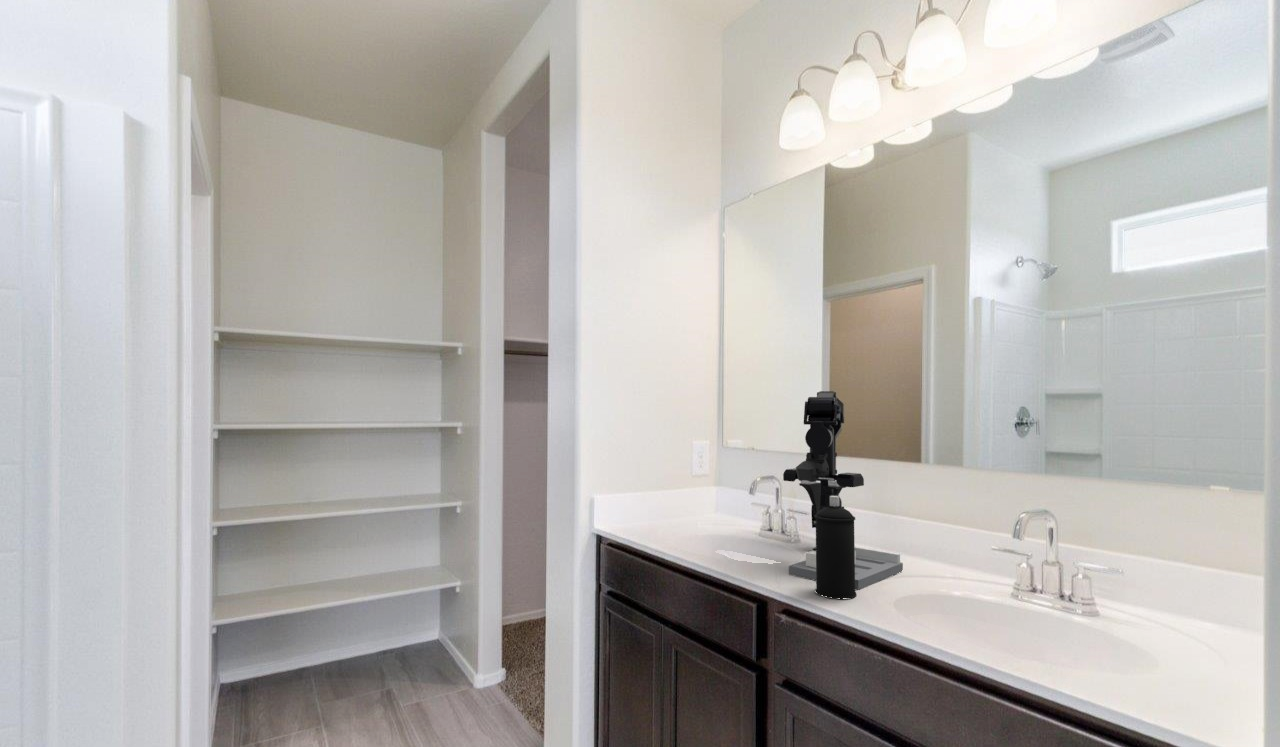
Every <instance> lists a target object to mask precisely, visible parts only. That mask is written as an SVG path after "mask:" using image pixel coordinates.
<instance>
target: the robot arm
mask: <svg viewBox="0 0 1280 747" xmlns="http://www.w3.org/2000/svg"><path fill="white" fill-rule="evenodd" d="M844 404H845V403H843V402H842V401H841V400H840V399H839V398H838V396H837V392H836V391H834V390H829V391H827V390H825V391H823V390H822V391H821V390H820V391H819V392H816V396H808V398H807V401H804V408H803V409H804V410H803V413H804V414H803V425H804V426H805V425H809V429H808V430H807V432H806V434H805V436H804V437H805V440H804V441H805V443H806V445H807V447H809V452H806V454H805V455H806V457H805V460H803V461H802V462H801V463H799V464H798V465H797V466H796V467H794V468H787V469H785V470H784V471H783V474H782V476H783V477H782V481H784V482H791V483H792V482H795V481H796V480H798V481H800V483H798V485H799V486H801V487H803V489H804V490H805V491H806V492H807V494H808V496H809V498H810V501H811V515H810V516H811V528H812V529H813V528H814V529H816V518H815V517H814V516H815V515H816V514H817V513H818V512H819V511H820V510H821V509H823V508H826V507H828V506H830V496H839V506H840V507H841V508H844V509H845V506H843V501H842V499H841V497H840V494H841V491H842V490H843V489H844V488H858V487H863V486H864V485H865V483H864V482H865V480H864V479H865V478H864V476H863V475H862V474H861V473H859V472H858V473H857V472H841V473H838V469H837V458H838V453H837V439H838V437H839V435H840V434H841V433H842V431H843V424H845V405H844ZM812 551H816V546H815V547H813V548H812Z"/></svg>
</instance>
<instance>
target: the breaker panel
mask: <svg viewBox="0 0 1280 747" xmlns="http://www.w3.org/2000/svg"><path fill="white" fill-rule="evenodd" d="M855 551H856V564H855V590H857V591H859V590H860V591H861V589H864V588H867V587H869V586H871V585H874V584H876V583H878V582H879V583H880V582H881V581H883V580H886V579H888V578H890V576H891V577H893V576H895V575H897V574H896V573H898V574H900V573H902V572H901V571H902V570H903V569H904V568H903V567H904V565H903V564H904V563H903V562H901V553H896V552H891V551H884V550H879V549H874V548H873V549H872V548H866V547H860V546H855ZM903 571H904V570H903ZM899 572H900V573H899ZM789 574H790V575H789ZM894 574H895V575H894ZM788 575H789V576H793V575H795V576H794V577H798V576H799V578H802V577H804V578H803V579H807V578H809V579H808V580H812V579H814V580H813V581H816V568H814V567H809V566H806V560H803V561H800V562H796V563H793V564H790V565H788ZM892 575H893V576H892Z"/></svg>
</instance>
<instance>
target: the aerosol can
mask: <svg viewBox="0 0 1280 747" xmlns="http://www.w3.org/2000/svg"><path fill="white" fill-rule="evenodd" d="M839 497H840V495H839V496H830V506H828V507H826V508H823V509H821V510H820V511H819V512H818V513H817V514H816V515H815V516H814V517H815V518H816V528H815V547H816V580H815V583H816V584H815V587H816V588H815V589H814V592H815V591H816V592H817V593H818V594H820V595H823V596H827V597H832V598H840V599H839V600H844V599H843V598H851V599H854V598H856V597H857V591H856V589H855V520H856V517H855V516H854V515H853V514H852V513H851V511H850V510H847V509H846V508H845V507H844V508H841V507H840V506H839ZM816 592H815V593H816ZM818 594H817V595H818ZM820 595H819V596H820Z"/></svg>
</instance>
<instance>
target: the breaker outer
mask: <svg viewBox="0 0 1280 747" xmlns="http://www.w3.org/2000/svg"><path fill="white" fill-rule="evenodd" d="M805 561H806V566H809V567H814V568H816V551H815V550H810V551H806V552H805Z"/></svg>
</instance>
